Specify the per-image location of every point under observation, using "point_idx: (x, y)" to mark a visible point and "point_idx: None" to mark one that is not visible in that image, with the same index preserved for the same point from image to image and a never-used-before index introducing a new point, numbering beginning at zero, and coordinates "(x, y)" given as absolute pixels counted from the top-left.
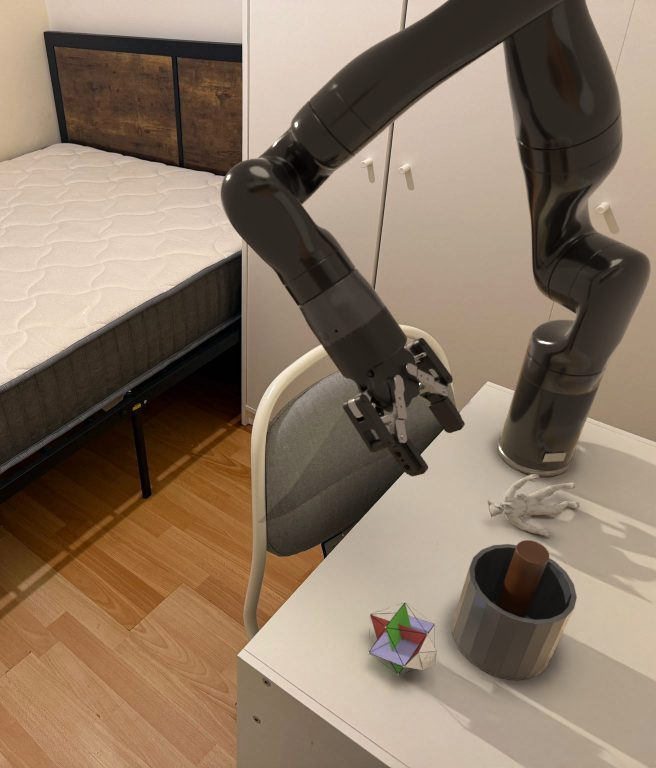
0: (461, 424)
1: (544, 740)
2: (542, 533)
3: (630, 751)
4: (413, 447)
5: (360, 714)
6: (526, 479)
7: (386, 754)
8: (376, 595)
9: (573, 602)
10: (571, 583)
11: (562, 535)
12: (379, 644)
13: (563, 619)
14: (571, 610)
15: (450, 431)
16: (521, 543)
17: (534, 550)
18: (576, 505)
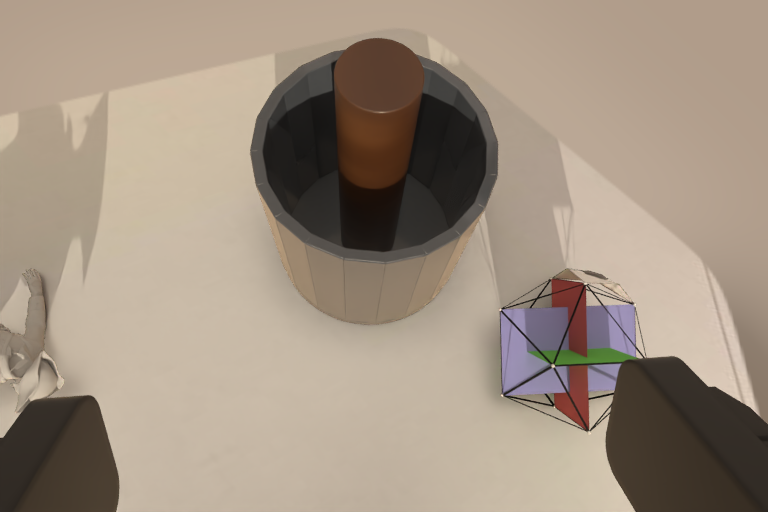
0: (70, 405)
1: (494, 120)
2: (38, 282)
3: (419, 38)
4: (764, 489)
5: (697, 345)
6: None
7: (712, 275)
8: (454, 482)
9: None
10: (301, 70)
11: (13, 255)
12: (605, 382)
13: None
14: None
15: (112, 474)
16: (372, 104)
17: (373, 71)
18: None
